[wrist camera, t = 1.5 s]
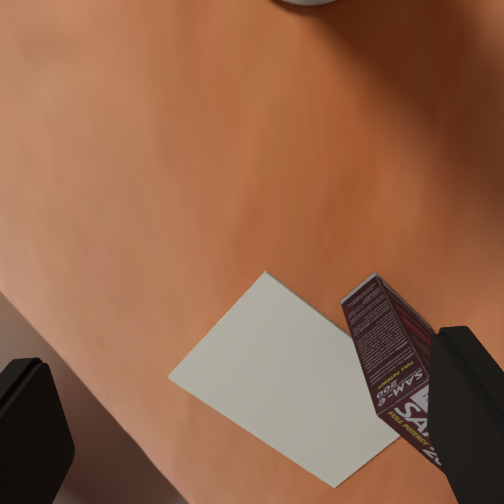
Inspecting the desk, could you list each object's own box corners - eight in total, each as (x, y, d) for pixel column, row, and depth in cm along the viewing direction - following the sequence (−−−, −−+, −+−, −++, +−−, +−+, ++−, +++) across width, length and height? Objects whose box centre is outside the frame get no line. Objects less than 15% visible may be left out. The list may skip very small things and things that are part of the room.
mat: (266, 270, 44) (266, 272, 43) (436, 401, 49) (438, 405, 48) (169, 374, 48) (167, 378, 48) (333, 483, 54) (334, 488, 53)
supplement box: (336, 301, 45) (372, 416, 30) (374, 269, 43) (431, 373, 29) (393, 353, 47) (453, 484, 32) (431, 324, 45) (511, 447, 31)
